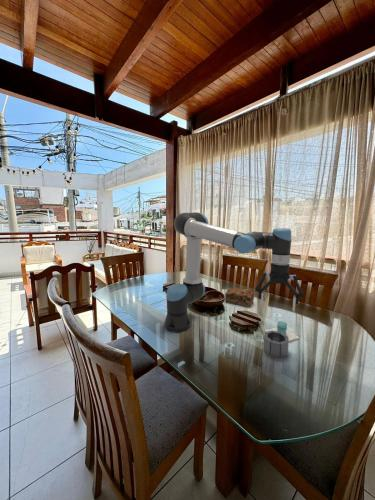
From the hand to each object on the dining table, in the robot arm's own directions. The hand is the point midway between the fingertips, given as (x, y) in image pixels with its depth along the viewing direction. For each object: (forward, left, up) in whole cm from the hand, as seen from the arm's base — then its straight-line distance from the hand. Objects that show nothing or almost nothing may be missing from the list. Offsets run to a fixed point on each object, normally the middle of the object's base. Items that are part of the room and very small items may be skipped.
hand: (277, 307), depth 100 cm
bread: (+15, +51, -22) cm, 58 cm away
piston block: (+12, +8, -21) cm, 25 cm away
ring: (0, -1, -21) cm, 21 cm away
